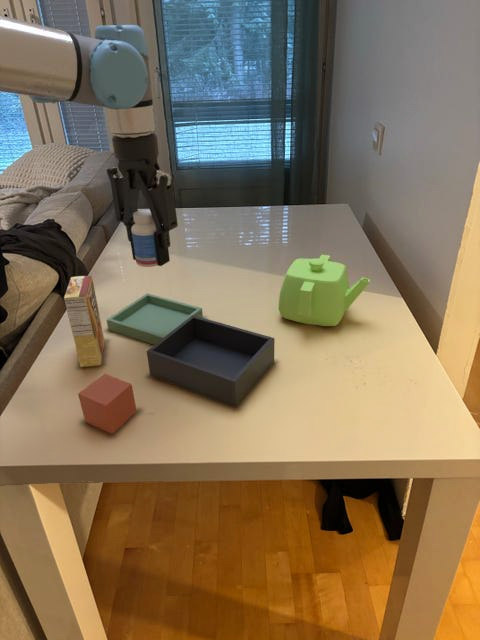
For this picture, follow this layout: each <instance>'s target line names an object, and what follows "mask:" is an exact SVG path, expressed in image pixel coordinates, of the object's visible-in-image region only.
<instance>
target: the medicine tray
mask: <svg viewBox="0 0 480 640" xmlns="http://www.w3.org/2000/svg"><path fill="white" fill-rule="evenodd" d="M192 315H194V316H198V317H202V318H204V316H203V308H202V307H199V306H196V305H192V304H188V303H185V302H181V301H177V300H174V299H169V298H166V297H162V296H159V295H155V294H152V293H145V294H143V295H142V296H141V297H139V298H137V299H136V300H135V301H133V302H131V303H129V304H128V305H127V306H125V307H124V308H122V309H120V310H119V311H118V312H116V313H115V314H113V315H111V316H110V317H108V318H107V319H106V324H107V329H108V331H111V332H114V333H117V334H120V335H122V336H123V335H124V336H127V337H129V338H132V339H135V340H138V341H141V342H145V343H147V344H150V345H152V346H154V345H155V344H156V343H158V342H159V341H160V340H161V339H163V338H164V337H165V336H167V335H168V334H169V333H170V332H172V331H173V330H174V329H175V328H177V327H178V326H179V325H180V324H182V323H183V322H184V321H185V320H187V319H188V318H189V317H191V316H192Z"/></svg>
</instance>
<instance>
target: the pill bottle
mask: <svg viewBox="0 0 480 640" xmlns="http://www.w3.org/2000/svg"><path fill="white" fill-rule="evenodd" d="M133 218H134V222H135V224H134V225H133V226H132V228H131V231H132V237H133V244H134V251H135V258H136V260H135V263H136V265H138V266H139V267H143V268H153V267H158V263H157V255H156V247H155V240H154V232H155V231H157V229H156V226H155V223H154V221H153V218H152V215H151V212H150V209H141V210H138V211H136V212H134V213H133Z"/></svg>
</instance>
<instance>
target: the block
mask: <svg viewBox="0 0 480 640" xmlns="http://www.w3.org/2000/svg"><path fill="white" fill-rule="evenodd" d="M77 396H78V399H79V403H80V407H81V411H82V414H83V418H84V422H85V423H87V424H89V425H92V426H93V427H96V428H97V429H99V430H103V431H105V432H107V433H109V434H111V435H113V434H115V432H116V431H118V429H119V428H121V427H122V426H123V425H125V423H126V422H127V421H128V420H130V419H131V418H132V417H133V416H134V415H135V414H136V413H137V412H138V411H137V410H138V409H137V405H136V404H137V403H136V400H135V395H134V388H133V384H132V383H130V382H128V381H125V380H123V379H120V378H118V377H115V376H113V375H110V374H108V373H103V374H102V375H100V376H99V377H98V378H96V379H95V380H94V381H92V383H90V384H89V385H88V386H86V387H85V388H83V389H82V390H81V391H79V392H78V393H77Z"/></svg>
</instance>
